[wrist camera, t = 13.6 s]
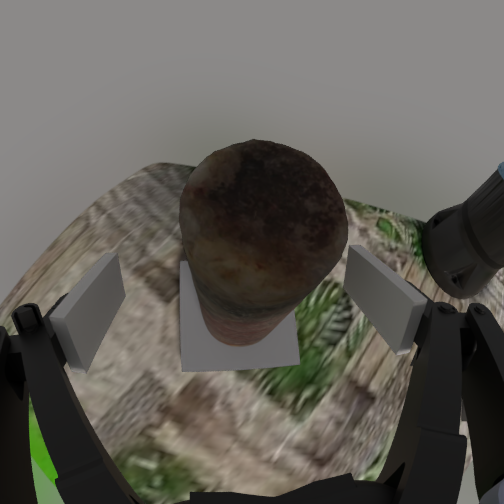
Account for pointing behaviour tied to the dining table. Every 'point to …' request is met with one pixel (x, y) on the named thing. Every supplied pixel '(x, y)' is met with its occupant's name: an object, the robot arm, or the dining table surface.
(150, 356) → the dining table surface
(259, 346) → the stand
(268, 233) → the candle
